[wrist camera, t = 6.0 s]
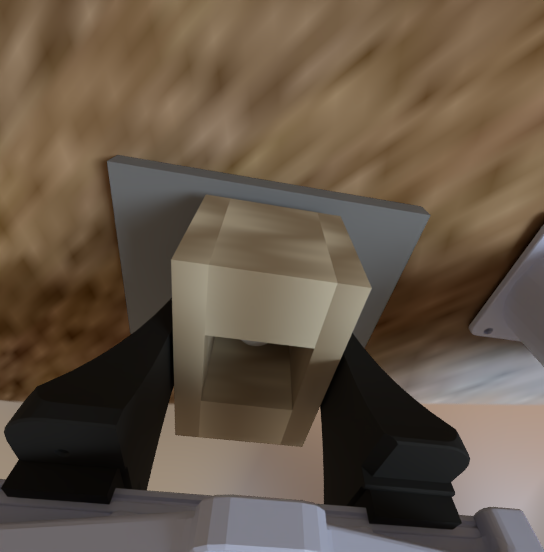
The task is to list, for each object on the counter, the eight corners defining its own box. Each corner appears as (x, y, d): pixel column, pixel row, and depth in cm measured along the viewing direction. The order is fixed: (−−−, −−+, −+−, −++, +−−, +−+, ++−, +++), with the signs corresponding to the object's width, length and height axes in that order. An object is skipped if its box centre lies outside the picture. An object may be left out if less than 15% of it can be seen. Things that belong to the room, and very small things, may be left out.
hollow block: (340, 216, 13) (371, 288, 9) (295, 358, 18) (302, 446, 14) (205, 194, 12) (171, 259, 8) (199, 347, 17) (175, 435, 13)
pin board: (421, 206, 15) (479, 263, 10) (354, 348, 20) (374, 422, 16) (117, 154, 13) (46, 196, 9) (136, 321, 19) (98, 393, 15)
